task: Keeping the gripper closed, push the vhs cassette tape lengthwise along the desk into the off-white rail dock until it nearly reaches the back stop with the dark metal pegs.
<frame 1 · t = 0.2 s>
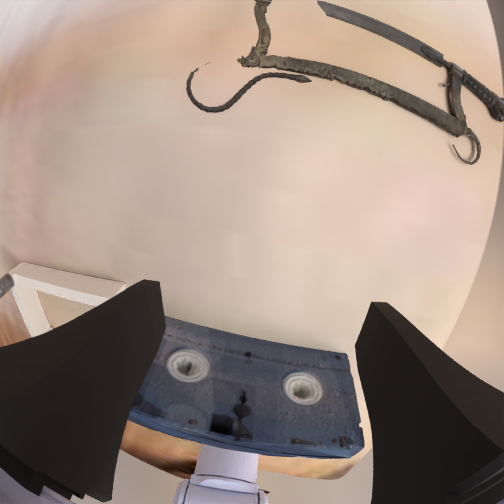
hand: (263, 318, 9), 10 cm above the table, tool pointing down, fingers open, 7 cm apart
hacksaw: (378, 86, 14), on the table
vhs cassette tape: (249, 344, 23), on the table
rail dock: (80, 314, 24), on the table
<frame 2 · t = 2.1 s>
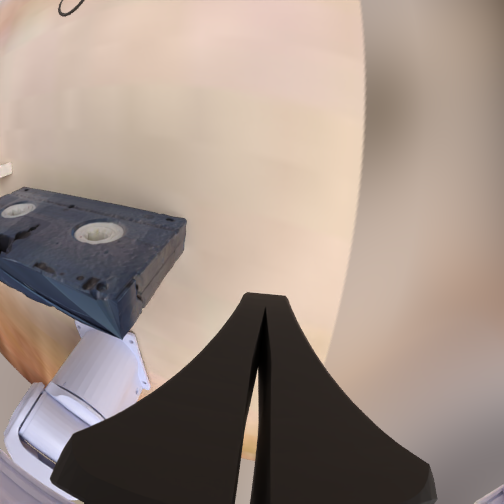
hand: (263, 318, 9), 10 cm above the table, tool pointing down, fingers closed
vhs cassette tape: (89, 211, 19), on the table
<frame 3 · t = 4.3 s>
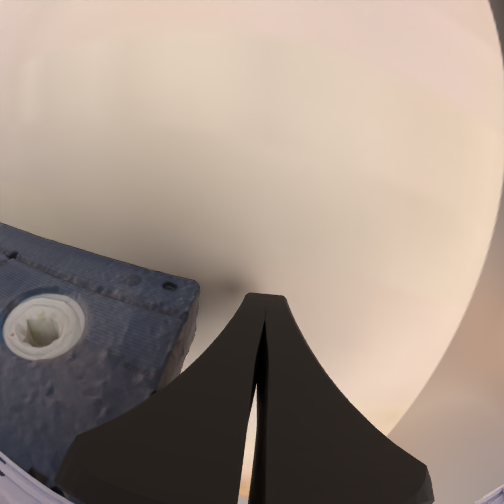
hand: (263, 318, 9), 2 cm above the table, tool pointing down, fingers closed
vhs cassette tape: (45, 255, 11), on the table, touching gripper
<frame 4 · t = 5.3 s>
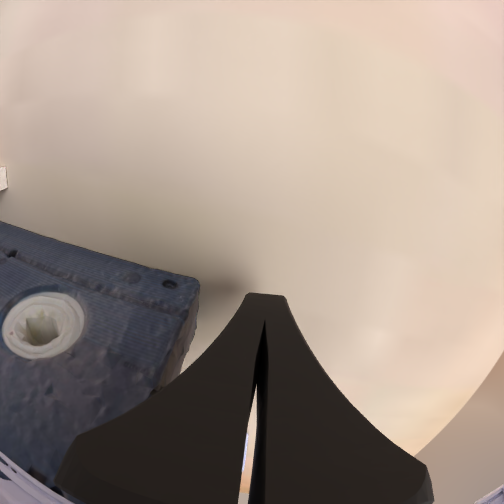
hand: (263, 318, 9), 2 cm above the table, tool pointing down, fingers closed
vhs cassette tape: (45, 253, 11), on the table, touching gripper
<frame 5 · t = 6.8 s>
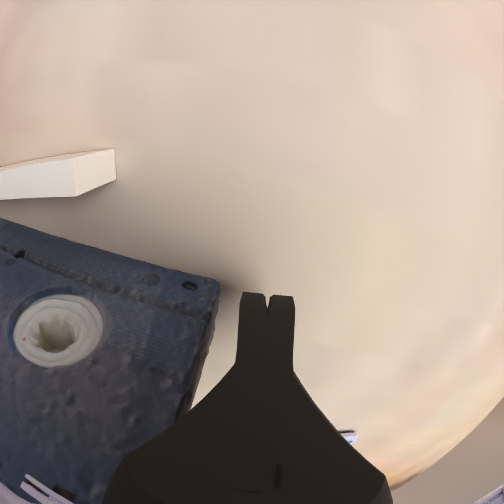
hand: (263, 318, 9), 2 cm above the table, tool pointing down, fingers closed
vhs cassette tape: (53, 253, 11), on the table, touching gripper, rail dock
rail dock: (30, 255, 11), on the table
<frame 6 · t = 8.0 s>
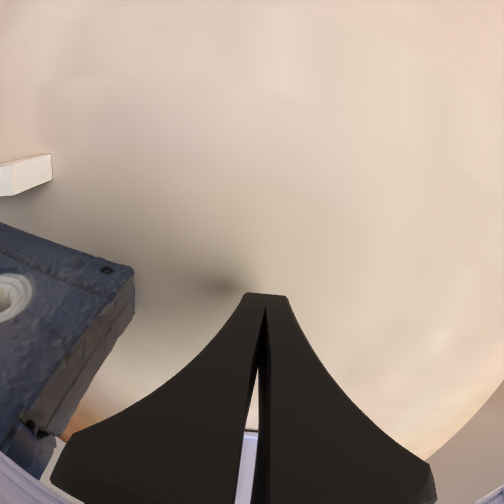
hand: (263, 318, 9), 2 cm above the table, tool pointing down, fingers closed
vhs cassette tape: (17, 243, 11), on the table
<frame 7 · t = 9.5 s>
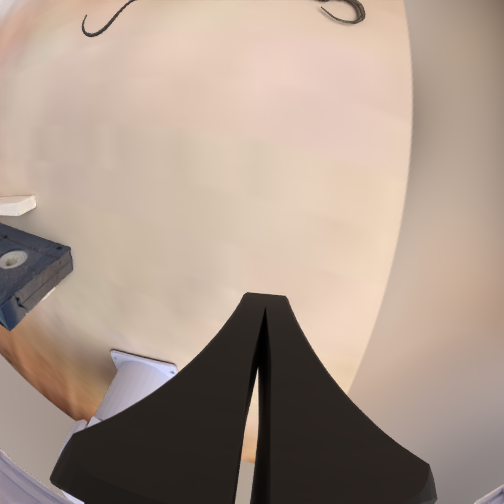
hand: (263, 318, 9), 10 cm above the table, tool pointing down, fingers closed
vhs cassette tape: (20, 238, 21), on the table
rail dock: (10, 240, 21), on the table
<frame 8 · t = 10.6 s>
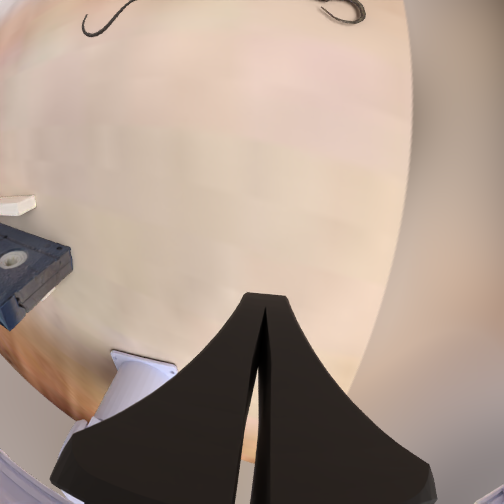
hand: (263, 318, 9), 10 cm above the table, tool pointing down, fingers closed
vhs cassette tape: (20, 238, 21), on the table
rail dock: (10, 240, 21), on the table
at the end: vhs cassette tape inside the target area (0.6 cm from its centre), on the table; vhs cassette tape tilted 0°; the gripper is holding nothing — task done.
